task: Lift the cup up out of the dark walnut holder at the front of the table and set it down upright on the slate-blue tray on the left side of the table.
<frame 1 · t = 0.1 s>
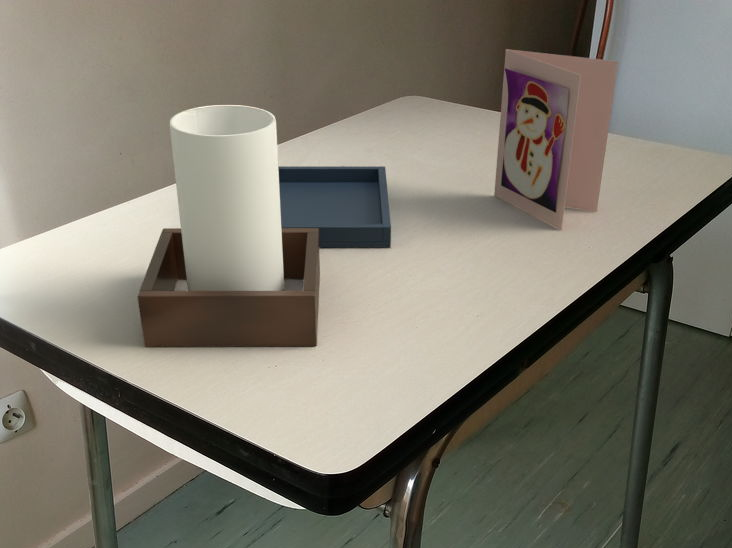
tray: (303, 214, 105), on the table
greeting card: (547, 208, 108), on the table
holder: (237, 308, 88), on the table
cup: (238, 310, 88), resting in holder
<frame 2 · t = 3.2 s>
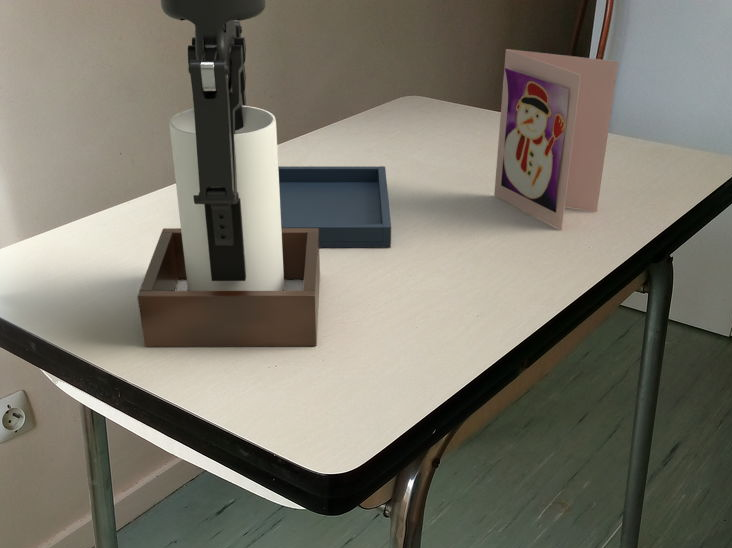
hand: (233, 256, 85), 5 cm above the table, tool pointing down, fingers closed on cup, 8 cm apart
cup: (238, 310, 88), resting in holder, touching gripper
everything else where it was.
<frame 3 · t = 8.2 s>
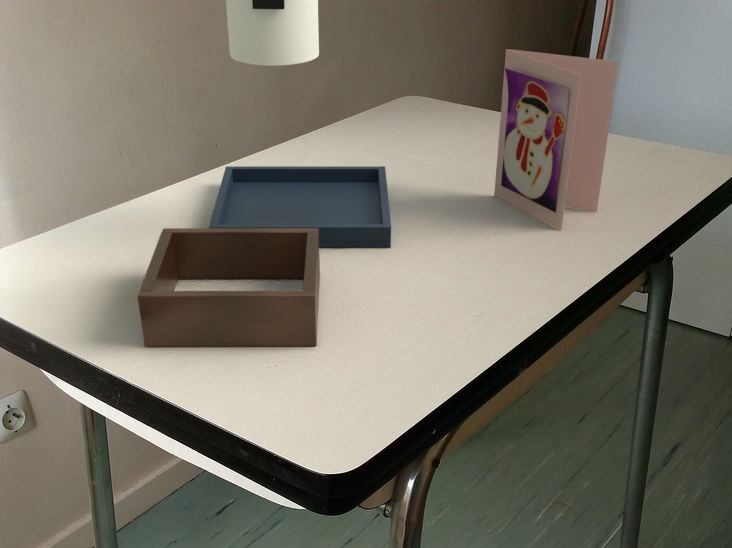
cup: (274, 56, 93), point 16 cm above the table, touching gripper
everything else where it was.
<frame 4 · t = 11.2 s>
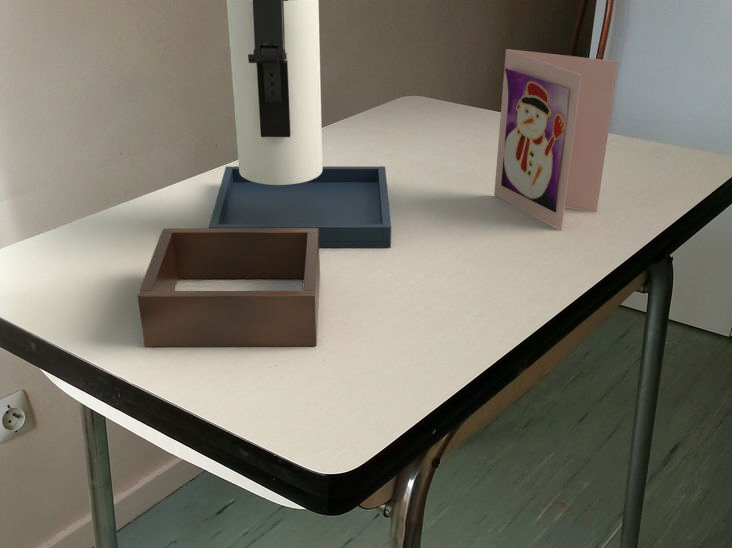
hand: (278, 121, 97), 10 cm above the table, tool pointing down, fingers closed on cup, 8 cm apart
cup: (281, 172, 100), point 5 cm above the table, touching gripper
everything else where it was.
when the fingers open (5 cm above the table, at t = 13.4 s): cup stays where it is, resting on tray.
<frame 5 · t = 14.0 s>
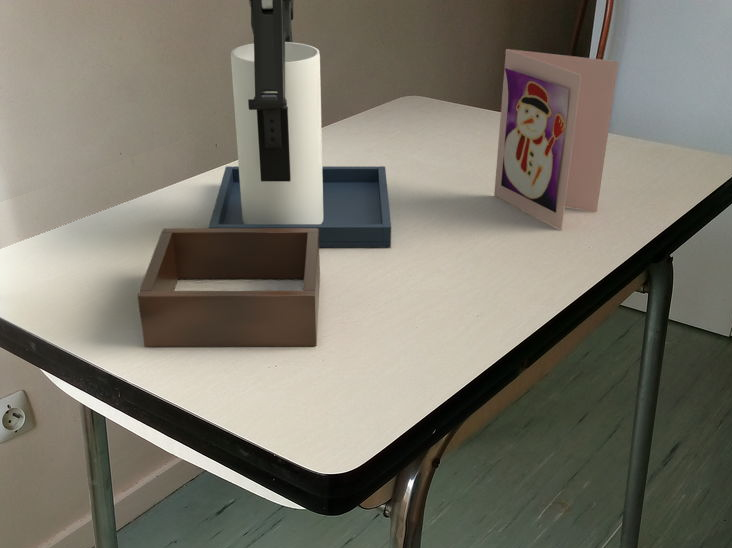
hand: (279, 156, 99), 7 cm above the table, tool pointing down, fingers open, 13 cm apart
cup: (283, 221, 103), resting on tray
everything else where it was.
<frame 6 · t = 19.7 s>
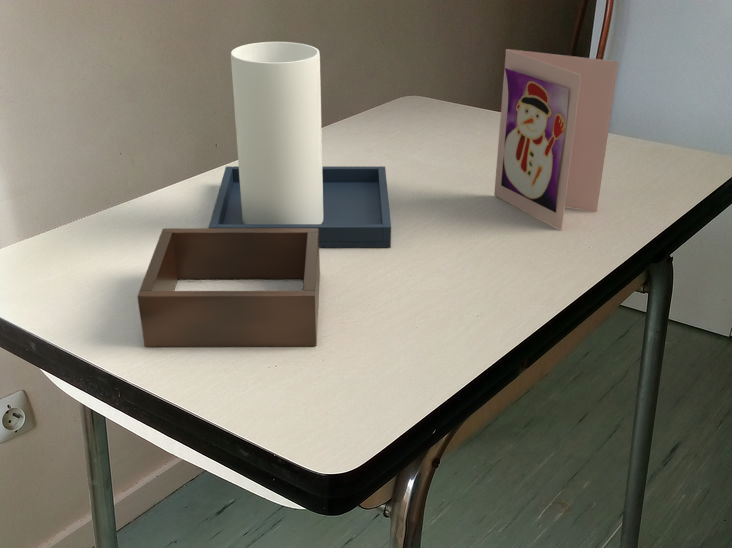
nothing on the table moved.
at the end: cup inside the target area in the tray (3.6 cm from its centre), point 0.4 cm above the tray's base; cup tilted 0° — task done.
